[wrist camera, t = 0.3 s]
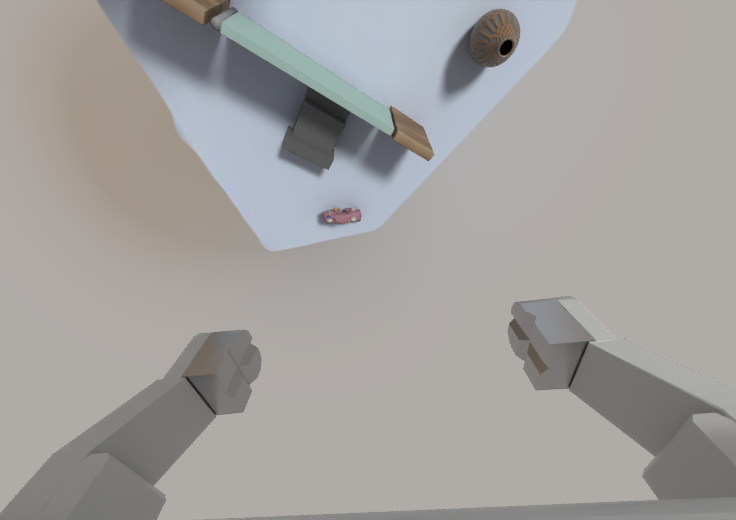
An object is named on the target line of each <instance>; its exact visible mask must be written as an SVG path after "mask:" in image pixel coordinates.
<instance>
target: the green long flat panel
mask: <svg viewBox="0 0 736 520" xmlns="http://www.w3.org/2000/svg"><path fill="white" fill-rule="evenodd" d="M211 25H212V27H213V28H214V29H215V30H220V29H221V32H220V33H222V34H223V35H225V36H227V37H228V38H230V39H231V40H233V41H235V42H236V43H238V44H240V45H241V46H243V47H245V48H246V49H248V50H250V51H251V52H253V53H255V54H256V55H258V56H259V57H261V58H263V59H264V60H266V61H268V62H269V63H271V64H273V65H274V66H276V67H278V68H279V69H281V70H283V71H284V72H286V73H288V74H289V75H291V76H292V77H294V78H296V79H297V80H299V81H301V82H302V83H304V84H306V85H307V86H309V87H311V88H312V89H314V90H316V91H317V92H319V93H320V94H322V95H324V96H325V97H327V98H329V99H330V100H332V101H334V102H335V103H337V104H339V105H340V106H342V107H344V108H345V109H347V110H348V111H350V112H352V113H353V114H355V115H357V116H358V117H360V118H362V119H363V120H365V121H367V122H368V123H370V124H372V125H373V126H375V127H376V128H378V129H380V130H381V131H383V132H385V133H386V134H388V135H390V136H391V134H392V133H393V131H394V126H393V122H392V118H391V114H390V110H389V109H388V108H386V107H385V106H383V105H382V104H380V103H379V102H377V101H376V100H374V99H373V98H371V97H369V96H368V95H366V94H365V93H363V92H362V91H360V90H359V89H357V88H356V87H354V86H353V85H351V84H350V83H348V82H347V81H345V80H344V79H342V78H341V77H339V76H337V75H336V74H334V73H333V72H331V71H330V70H328V69H327V68H325V67H324V66H322V65H321V64H319V63H318V62H316V61H315V60H313V59H312V58H310V57H309V56H307V55H305V54H304V53H302V52H301V51H299V50H298V49H296V48H295V47H293V46H292V45H290V44H289V43H287V42H286V41H284V40H283V39H281V38H280V37H278V36H277V35H275V34H273V33H272V32H270V31H269V30H267V29H266V28H264V27H263V26H261V25H260V24H258V23H257V22H255V21H254V20H252V19H251V18H249V17H248V16H246V15H245V14H243V13H242V12H240V11H237V10H236V9H235V8H234V7H231V8H230V9H228V10H226V11H224V12H222V13H221V14H219V15H217V16H215V17H214V18H212V19H211Z"/></svg>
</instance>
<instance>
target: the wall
mask: <svg viewBox="0 0 736 520" xmlns="http://www.w3.org/2000/svg"><path fill="white" fill-rule="evenodd" d="M162 1H163V2H165V3H167V4H168V5H170V6H172V7H173V8H175V9H177V10H178V11H180V12H182V13H183V14H185V15H187V16H188V17H190V18H192V19H193V20H195V21H197V22H198V23H200V24H202V25H205V24H206V23H208V22H210V21H211V19H212V18H214V17H215V16H217V15H219V14H221V13H222V12H224V11H226V10H228V9H229V4H230V0H162ZM389 110H390V114H391V118H392V122H393V126H394V131H393V133H392V137H393V140H394V141H396V142H398V143H399V144H401V145H402V146H404V147H406V148H407V149H409V150H411V151H412V152H414V153H416V154H417V155H419V156H421V157H422V158H424V159H426V160H427V161H429V160H430V159H431V158H432V157H433V156H434V153H433V150H432V148H431V145H430V143H429V140H428V138H427V135H426V133H425V130H424V128H423V127H422V126H421V125H419V124H418V123H416V122H415V121H413V120H412V119H410V118H409V117H407V116H406V115H404V114H403V113H401V112H400V111H398V110H397V109H395V108H394V107H392V106H391V107H390V109H389Z"/></svg>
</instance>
